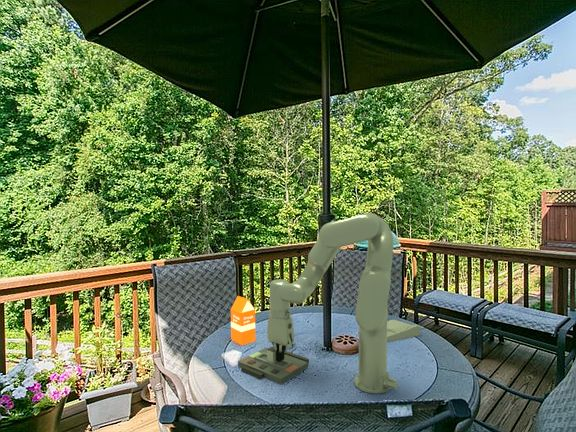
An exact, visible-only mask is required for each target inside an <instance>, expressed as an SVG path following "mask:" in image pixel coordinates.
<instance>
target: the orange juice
mask: <svg viewBox="0 0 576 432" xmlns="http://www.w3.org/2000/svg"><path fill="white" fill-rule="evenodd" d="M230 338H231V339H230V340H231V341H234V342H235V343H236V344H238V345H240V346H244V345H247V344H250V343H253V342H255V341H256V309H255V307H254V306H253V305H252V303H251V302H250V300H249V299H248V298H246V297H243V296H239V295H237V297H236V298H235V300H234V302H233V304H232V305H231V308H230Z"/></svg>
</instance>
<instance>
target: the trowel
mask: <svg viewBox="0 0 576 432" xmlns="http://www.w3.org/2000/svg"><path fill="white" fill-rule="evenodd" d="M419 336H421V325H417V324H416V325H415V324H413V325H412V324H409V323H407V322H404V321H400V320H396V319H389V320H387V343H390V342H393V341H398V340H399V341H400V340H404V339H408V338H414V337H419Z"/></svg>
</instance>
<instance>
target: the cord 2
mask: <svg viewBox="0 0 576 432" xmlns="http://www.w3.org/2000/svg"><path fill="white" fill-rule="evenodd" d="M284 354H285V355H288V356H291V357H294V358H297V359H300V360H302V361H305V362H308V364H309V362H310V359H309V358H307V357H304V356H302V355H298V354H295V353H294V352H293V353H292V352H289V351H288V350H287V351H286V350H284Z"/></svg>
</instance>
